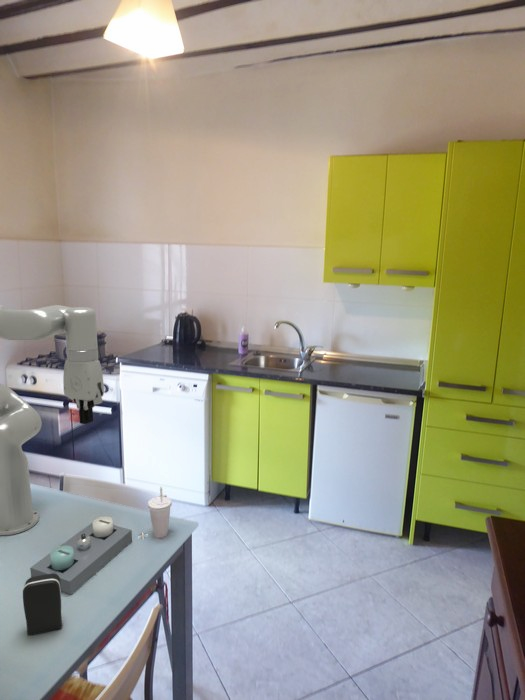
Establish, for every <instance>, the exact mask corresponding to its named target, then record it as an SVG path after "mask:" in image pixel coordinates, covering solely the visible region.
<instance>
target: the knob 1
mask: <svg viewBox="0 0 525 700" xmlns="http://www.w3.org/2000/svg"><path fill="white" fill-rule="evenodd" d="M59 546H60V547H59ZM59 546H57V547H55V548H54V549H52V550H51V552H49V554H50V557H51V567H52V568H53V569H54V570H58V572H60V573H64V572H65V571H67V570H68V569H69V567H70V566H72V565H73V563H74V553H73V548H72V547H71V546H61V545H59Z"/></svg>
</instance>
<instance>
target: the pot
mask: <svg viewBox="0 0 525 700" xmlns="http://www.w3.org/2000/svg"><path fill="white" fill-rule="evenodd" d="M77 545H78V550H79V551H86V550H88V549H90V547H91V546H90V536H88V535H85V534H82V535H81V536H80V537H79V538H78V539H77Z"/></svg>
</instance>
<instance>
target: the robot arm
mask: <svg viewBox="0 0 525 700" xmlns="http://www.w3.org/2000/svg"><path fill="white" fill-rule="evenodd" d="M97 329H98V328H97V314H96V310H95V309H94V308H92V307H85V306H78V307H77V306H76V307H71V306H67V305H60V304H55V305H48V306H44V307H43V306H42V307H38V308H34V309H32V308H31V309H8V308H6V307H5V306H4V305H1V304H0V339H1V340H2V339H3V340H8V341H34V340H35V341H38V340H39V341H40V340H45V339H48V338H50V337H53V336H57V335H61V334H62V335H63V334H65V344H66V349H65V354H66V360H65V361H64V366H63V376H62V377H63V379H62V380H63V393H64V396H65V397H67V398H68V399H69V400H71V401H73V402H74V404H76V405H75V406H76V408H77V410H78V413H79V414H78V415H79V416H78V417H79V424H81V425H87V424H90V423H92V422H94V411H93V409H94V408H95V406H96V405H100V404H102V403H103V401H104V400H103V398H102V397H103V396H104V393H105V389H104V388H105V385H104V376H103V370H102V364H101V361H100V360H99V350H98V349H99V348H98V333H97ZM42 426H43V425H42V417H41V415H40V414H39V413H38V412H37V411H36V409H35V408H34V407H32V406H31V405H30V404H29V403H28V402H26V400H25V399H23V397H21V396H20V395H19V394H17V393H16V392H15V391H14V390H13V389H11V388H10V387H8V386H7V385H5V384H2V383H0V536H11V535H16V534H20V533H23V532H25V531H27V530H30V529H31V528H33V527H34V526H35V525H36V524H37V523H38V522H39V520H40V513H39V511H38V510H36V509H34V508H33V502H32V499H33V498H32V491H31V490H32V489H31V480H30V470H29V469H30V468H29V462H28V458H27V456H26V454H25V452H24V451H23V448H22V446H23V444H25V443H26V442H28V441H29V440H30V439H32V438H34V437H35V436H36V435H37V434H38V433H39V432H40V431H41V429H42Z"/></svg>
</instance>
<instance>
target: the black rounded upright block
mask: <svg viewBox="0 0 525 700" xmlns="http://www.w3.org/2000/svg"><path fill="white" fill-rule="evenodd" d="M62 593H63V592H61V582H60V577H59V576H58V575H57V574H54V573H52V574H45V575H40V576H34V577H31V576H30V577H29V578H28V579H27V580H26V581H25V583H24V585H23V589H22V603H23V610H24V617H25V622H26V632H27V635H29V636H30V635H37V634H41V633H47V632H51V631H54V630H55V631H56V630H59V629H62V627H63V626H64V623H63V622H64V621H63V612H62V610H63V609H62V608H63V605H62Z"/></svg>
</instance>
